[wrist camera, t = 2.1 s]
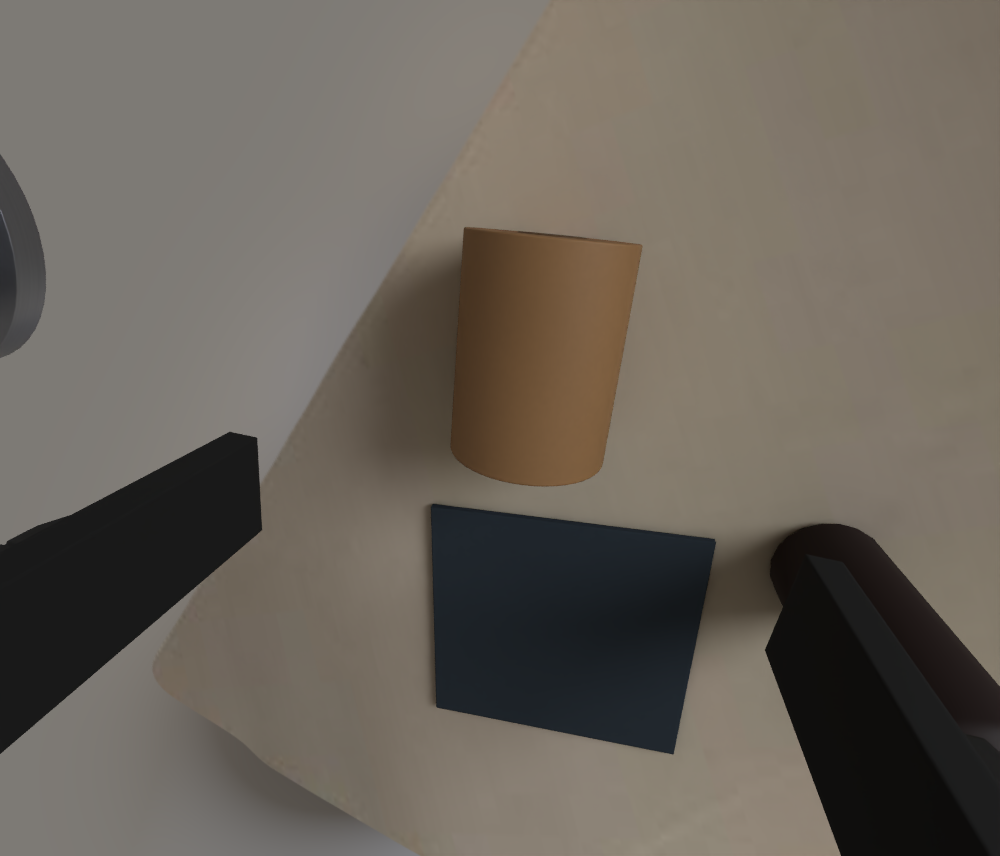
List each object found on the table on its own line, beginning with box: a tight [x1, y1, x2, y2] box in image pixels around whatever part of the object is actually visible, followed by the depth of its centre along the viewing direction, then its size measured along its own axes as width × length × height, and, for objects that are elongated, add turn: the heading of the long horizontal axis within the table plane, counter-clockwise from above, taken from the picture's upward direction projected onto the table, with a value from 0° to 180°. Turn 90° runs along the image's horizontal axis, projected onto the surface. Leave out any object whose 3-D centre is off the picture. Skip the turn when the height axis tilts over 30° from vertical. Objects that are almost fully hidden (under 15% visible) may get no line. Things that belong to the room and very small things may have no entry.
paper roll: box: [451, 227, 642, 486], centre depth 28 cm, size 12×9×9 cm
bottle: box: [770, 524, 1000, 752], centre depth 25 cm, size 7×7×20 cm
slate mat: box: [431, 504, 716, 754], centre depth 40 cm, size 20×20×1 cm
